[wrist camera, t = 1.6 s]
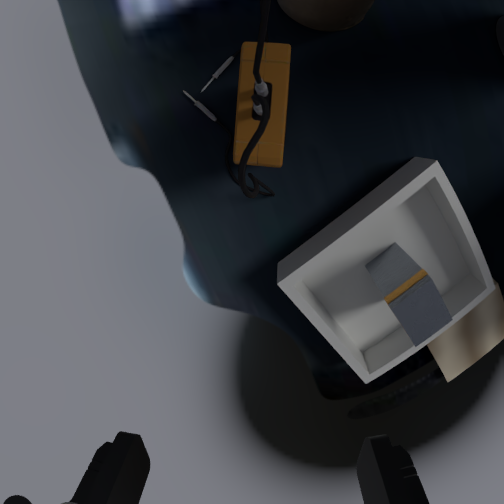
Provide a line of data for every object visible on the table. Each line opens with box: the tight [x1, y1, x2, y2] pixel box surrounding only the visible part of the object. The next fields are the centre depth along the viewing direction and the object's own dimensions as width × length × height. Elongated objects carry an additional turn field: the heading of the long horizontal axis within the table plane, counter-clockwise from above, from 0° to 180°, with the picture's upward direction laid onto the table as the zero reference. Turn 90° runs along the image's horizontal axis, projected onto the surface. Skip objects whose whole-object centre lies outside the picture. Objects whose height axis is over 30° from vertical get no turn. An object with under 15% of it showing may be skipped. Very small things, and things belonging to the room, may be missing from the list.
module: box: [365, 242, 453, 347], centre depth 26 cm, size 5×4×9 cm
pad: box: [427, 279, 504, 382], centre depth 33 cm, size 12×10×2 cm
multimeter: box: [183, 0, 291, 198], centre depth 18 cm, size 15×10×20 cm
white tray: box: [277, 157, 496, 384], centre depth 29 cm, size 18×16×5 cm
